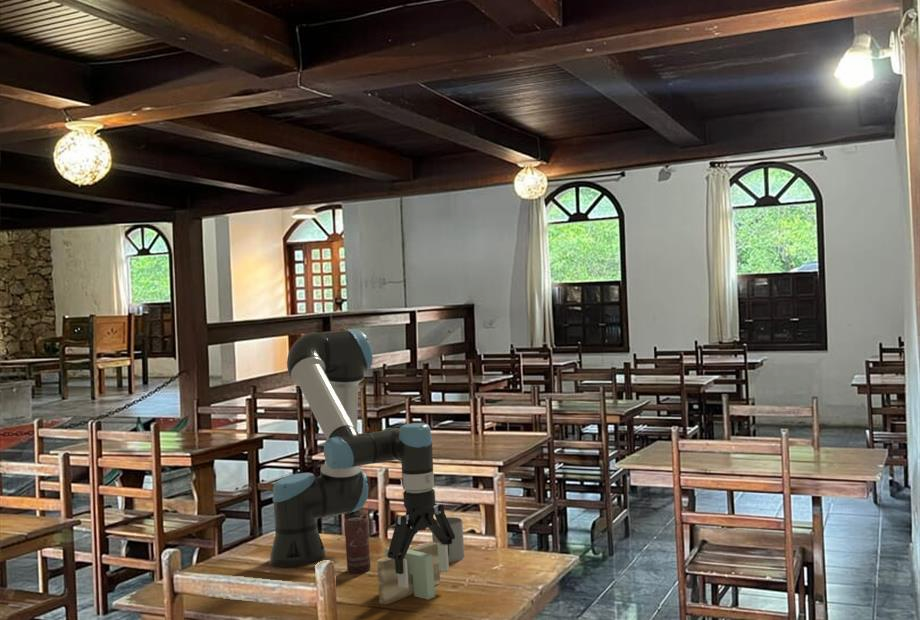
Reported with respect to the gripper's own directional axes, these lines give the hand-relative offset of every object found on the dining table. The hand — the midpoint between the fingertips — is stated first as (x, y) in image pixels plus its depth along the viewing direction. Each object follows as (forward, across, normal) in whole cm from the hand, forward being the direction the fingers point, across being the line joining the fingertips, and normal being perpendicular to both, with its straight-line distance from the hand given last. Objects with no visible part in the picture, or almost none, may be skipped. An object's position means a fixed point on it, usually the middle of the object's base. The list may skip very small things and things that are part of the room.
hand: (424, 578), depth 201 cm
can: (+4, +5, +30) cm, 31 cm away
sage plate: (+4, 0, +5) cm, 6 cm away
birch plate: (+4, 0, +5) cm, 7 cm away
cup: (+4, +26, +17) cm, 31 cm away
